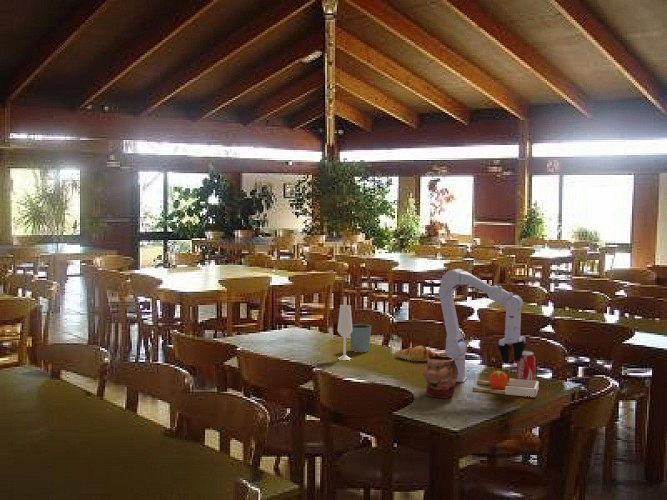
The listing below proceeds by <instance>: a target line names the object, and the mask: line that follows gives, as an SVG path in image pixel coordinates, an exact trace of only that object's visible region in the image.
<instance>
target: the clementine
mask: <svg viewBox="0 0 667 500" xmlns="http://www.w3.org/2000/svg"><path fill="white" fill-rule="evenodd" d="M489 381H490V384H491V385H490V386H491V387H492V388H493V389H497V390H504V389H505V386H506V385H507V383H509V379H508V375H507V374H506V373H505V372H504V371H501V370H496V371H493V372H492V373H491V374H490V375H489Z"/></svg>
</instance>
